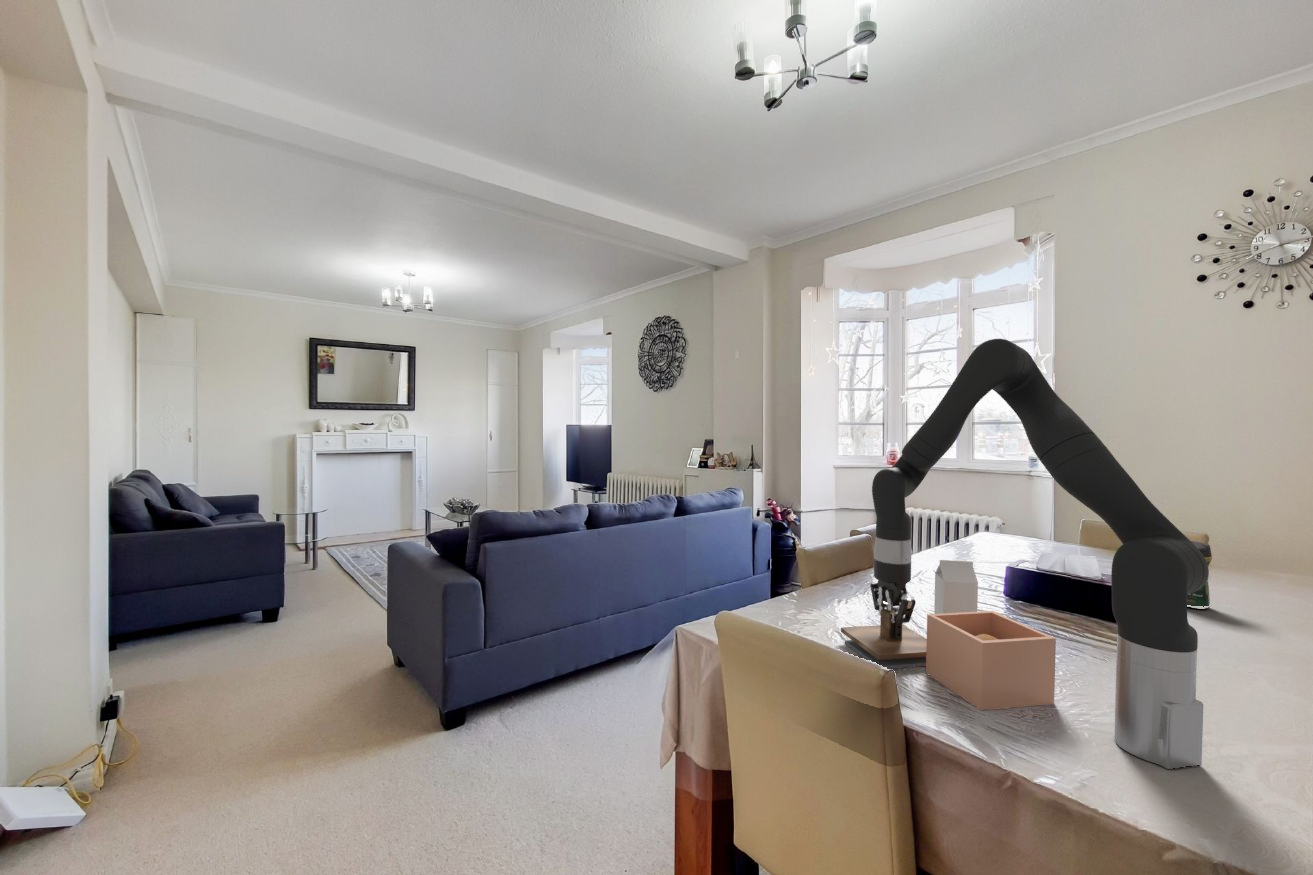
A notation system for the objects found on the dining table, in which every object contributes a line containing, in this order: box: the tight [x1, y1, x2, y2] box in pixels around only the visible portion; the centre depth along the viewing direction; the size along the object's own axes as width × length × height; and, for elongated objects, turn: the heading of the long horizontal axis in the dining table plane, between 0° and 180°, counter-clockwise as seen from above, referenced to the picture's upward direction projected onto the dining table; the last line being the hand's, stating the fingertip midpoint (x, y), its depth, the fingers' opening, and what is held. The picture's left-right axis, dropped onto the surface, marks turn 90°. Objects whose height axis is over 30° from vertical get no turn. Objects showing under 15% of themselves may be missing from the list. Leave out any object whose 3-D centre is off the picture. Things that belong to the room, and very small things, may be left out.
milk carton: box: [933, 559, 979, 614], centre depth 129 cm, size 7×7×19 cm
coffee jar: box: [1187, 540, 1213, 607], centre depth 158 cm, size 10×8×19 cm
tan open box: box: [925, 610, 1057, 711], centre depth 107 cm, size 15×15×12 cm
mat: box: [844, 639, 926, 669], centre depth 122 cm, size 14×14×1 cm
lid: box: [840, 609, 927, 660], centre depth 122 cm, size 16×16×7 cm
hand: (890, 635), depth 122 cm, fingers closed on lid, 3 cm apart
